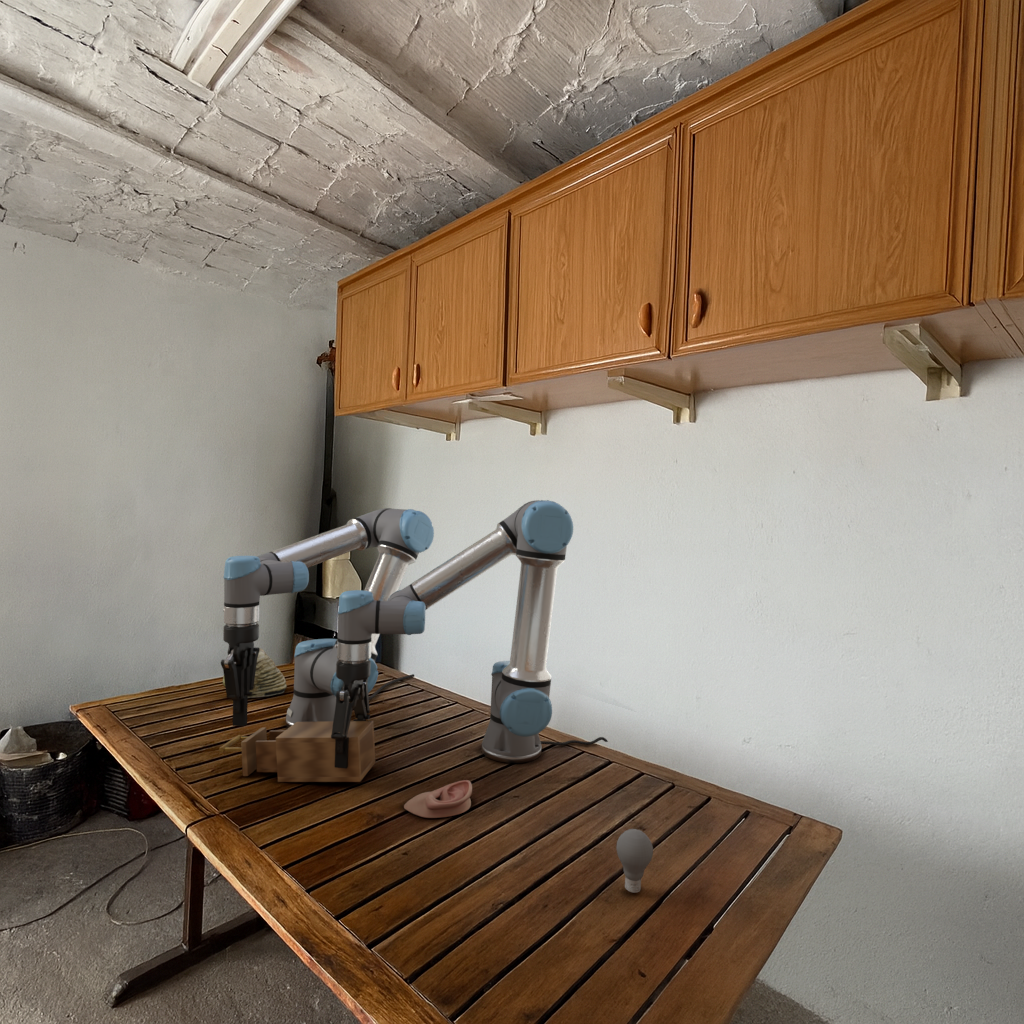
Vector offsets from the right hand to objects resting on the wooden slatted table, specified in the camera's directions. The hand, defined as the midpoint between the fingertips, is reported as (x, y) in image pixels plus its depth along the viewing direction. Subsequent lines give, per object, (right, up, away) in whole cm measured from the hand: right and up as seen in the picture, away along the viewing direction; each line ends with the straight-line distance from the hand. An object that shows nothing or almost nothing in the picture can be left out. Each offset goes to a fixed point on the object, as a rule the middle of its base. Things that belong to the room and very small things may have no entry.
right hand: (350, 757), depth 143 cm
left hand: (-26, +6, +3) cm, 27 cm away
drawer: (-17, -3, +2) cm, 18 cm away
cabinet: (-5, -4, +1) cm, 6 cm away
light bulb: (+57, -8, -37) cm, 68 cm away
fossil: (-44, -2, +55) cm, 70 cm away
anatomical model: (+21, -6, -11) cm, 25 cm away
